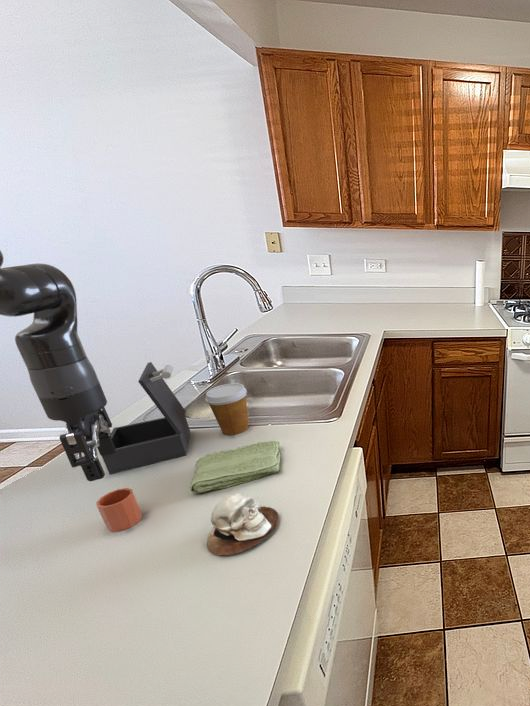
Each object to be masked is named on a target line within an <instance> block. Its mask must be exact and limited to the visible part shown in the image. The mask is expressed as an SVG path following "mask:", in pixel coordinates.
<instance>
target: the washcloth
mask: <svg viewBox="0 0 530 706" xmlns="http://www.w3.org/2000/svg"><path fill="white" fill-rule="evenodd" d="M279 447H280V441H279V440H269V441H260V442H259V441H258V442H255V443H251V444H247V445H244V446H243V445H242V446H239V447H236V448H233V449H232V448H231V449H228V450H220V451H217V452H213V453H208V454H205V455H203V456H201V457H199V458H198V459H197V460H196V461H195V469H194V474H195V475H194V476H193V477H192V479H191V481H190V485H189V491H190V493H192V494H203V493H206V492H209V491H213V490H214V491H215V490H220V489H223V490H225V489H227V488H230V487H233V486H236V485H237V486H238V485H240V484H243V483H248V482H252V481H255V480H256V479H257V480H258V479H260V478H263V477H266V476H269V475H273V474H276V473H278V472H280V461H281V453H280V451H279V450H280V449H279Z"/></svg>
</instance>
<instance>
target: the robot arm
mask: <svg viewBox="0 0 530 706" xmlns="http://www.w3.org/2000/svg"><path fill="white" fill-rule="evenodd" d="M4 260H5V258H4V254H3V252H2V251H1V250H0V316H3V317H9V318H10V317H11V318H12V317H13V318H16V317H22V316H27V315H31V314H33V319H32V322H31V324H29V325H28V326H27V327H25V328H24V329H21V330H20V331H19V332H17V333H16V335H15V336H14V343H15V345H16V347H17V351H18V352H19V354H20V356H21V359H22V361H23V363H24V365H25V367H26V369H27V373H28V377H29V380H30V383H31V385H32V387H33V389H34V392H35V394H36V396H37V398H38V400H39V402H40V404H41V406H42V408H43V411H44V413H45V415H46V417H47V418H48V419H49V420H52V421H55V422H57V421H59V422H64V423H65V433H63V434H59V441H60V443H61V445H62V448H63V450H64V452H65V455H66V457H67V459H68V461H69V464H70V466H71V468H77V467H80V468H81V470H82V472H83V474H84V477H85V478H86V480H87V481H88V482H94V481H97V480H98V481H99V480H102V479H104V477H105V475H106V473H105V471H104V469H103V466H102V464H101V461H100V459H99V456H98V453H99V455H100V456H101V457H102V456H106V455H110V454H114V453H115V451H116V448H115V446H114V444H113V441H112V439H111V436H110V434H111V432H112V430H111V429H110V428H112V427H113V423H112V421H111V419H110V417H109V414H108V413H107V409H106V405H107V404H108V400H107V397H106V395H105V392H104V390H103V387H102V385H101V383H100V380H99V378H98V376H97V373H96V370H95V368H94V366H93V364H92V362H91V361H90V359H89V357H88V356H87V353H86V351H85V349H84V346H83V343H82V340H81V338H80V336H79V333H78V332H79V331H78V305H77V304H78V303H77V293H76V289H75V287H74V284H73V282H72V281H71V279H70V278H69V277H68V275H66V274H65V272H63V271H62V270H60V269H59V268H57V267H56V266H55V265H51V264H47V263H38V262H37V263H29V264H22V265H21V264H20V265H13V266H8V267H2V266H3V264H4Z"/></svg>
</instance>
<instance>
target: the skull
mask: <svg viewBox="0 0 530 706" xmlns="http://www.w3.org/2000/svg"><path fill="white" fill-rule="evenodd" d="M279 518H280V517H279V513H278V512H277V510H275V509H274V508H272V507H269V506H261V504H260V503H259V502H258V501H256V500H254V498H253V497H252V496H248V495H245V494H243V493H240V492H239V493H238V492H237V493H232V494H229V495H227V496H225V497H224V498H222V499H221V500H220V501H218V502H217V504H216V505H215V506H214V508H213V510H212V512H211V515H210V522H211V524H212V526H213V527H214V529H212V531H211V532H210V533H209V535H208V538H207V540H206V545H205V546H206V549H207V550H208V552H210V553H211V554H213V555H216V556H228V555H230V556H231V555H234V554H238V553H239V554H240V553H241V552H244V551H247V550H249V549H251V548H253V547H255V546H256V545H258V544H259V543H261V542H262V541H264V540H265V539H267V537H269V536H270V535H271V534H272V532H273V533H274V530H275V529H276V527H277V525H278V523H279V520H280V519H279Z"/></svg>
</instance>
